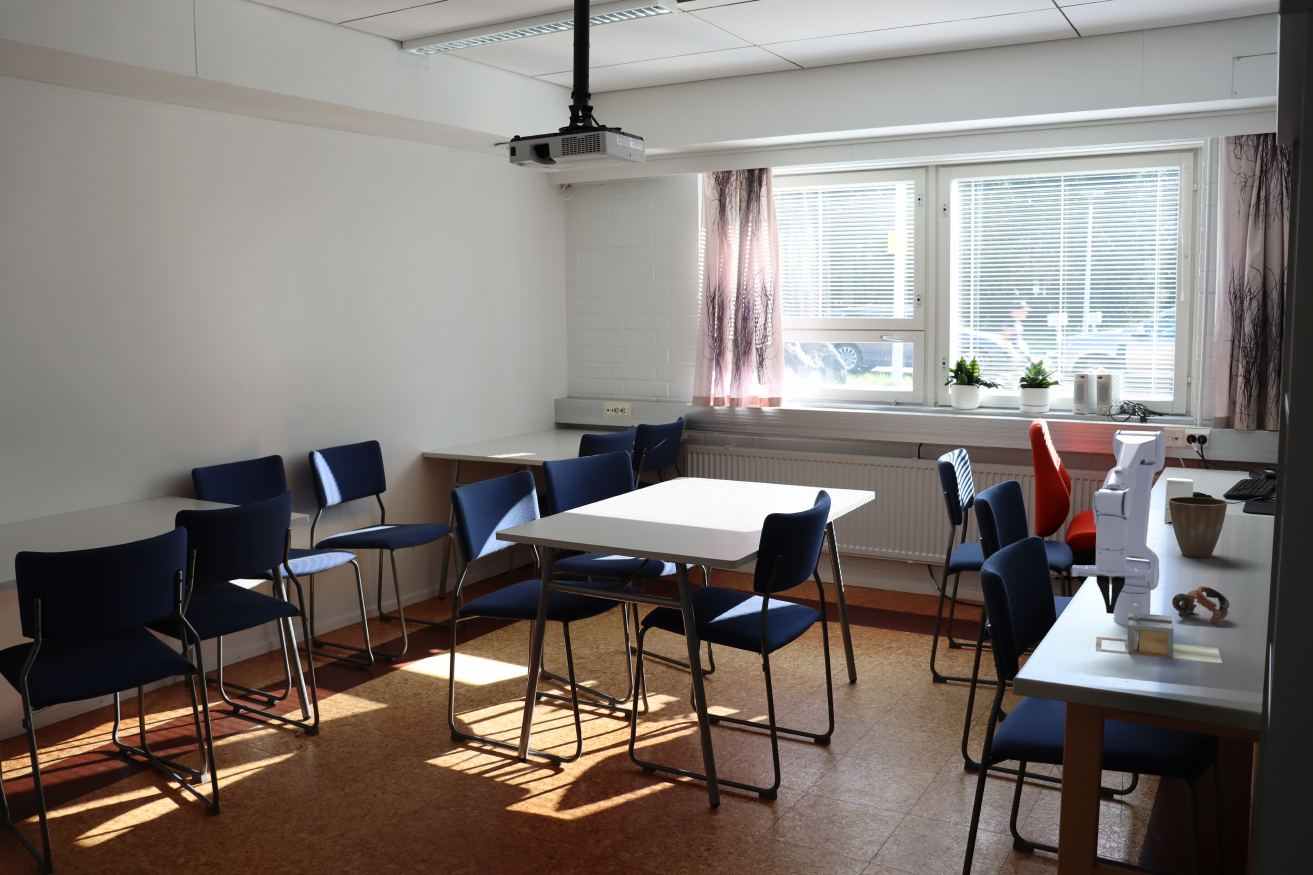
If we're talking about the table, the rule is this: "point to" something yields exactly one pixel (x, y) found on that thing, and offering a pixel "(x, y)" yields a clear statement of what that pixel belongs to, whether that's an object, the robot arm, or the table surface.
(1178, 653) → the board
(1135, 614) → the paddle
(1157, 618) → the tunnel
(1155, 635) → the block
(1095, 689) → the table surface
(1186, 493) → the skincare box
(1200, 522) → the plant pot
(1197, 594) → the brown headphones
